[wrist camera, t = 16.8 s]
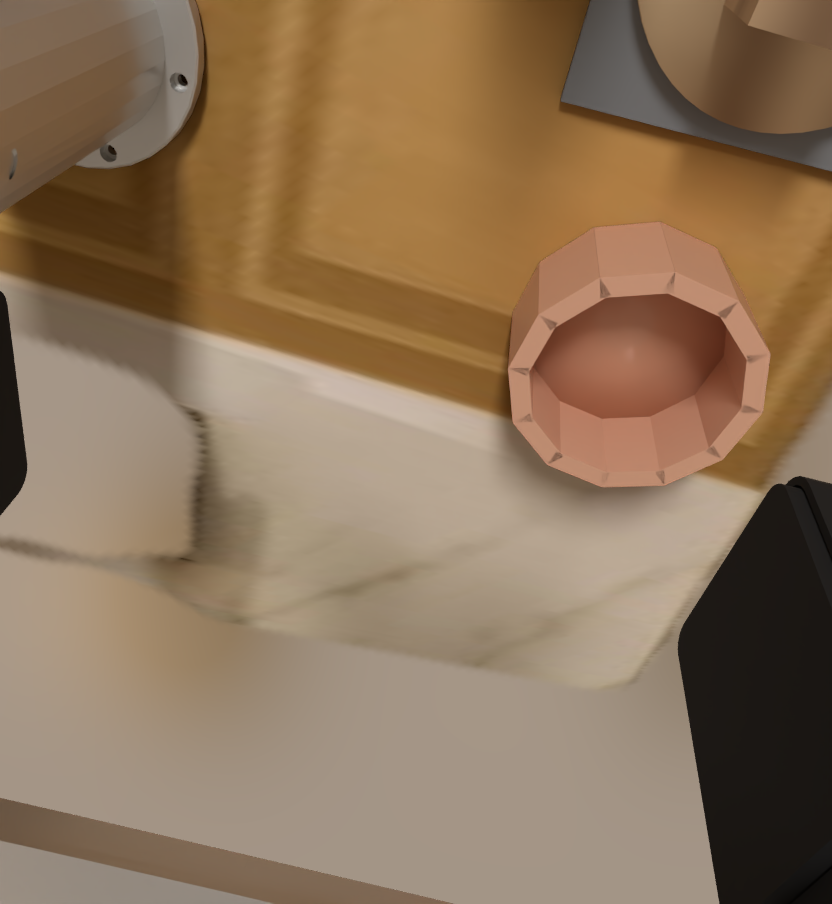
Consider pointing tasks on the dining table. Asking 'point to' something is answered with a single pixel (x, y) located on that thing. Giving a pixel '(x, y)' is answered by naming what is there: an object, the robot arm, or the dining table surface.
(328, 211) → the dining table surface
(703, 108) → the lid
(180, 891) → the robot arm
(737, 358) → the bowl
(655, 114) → the mat
